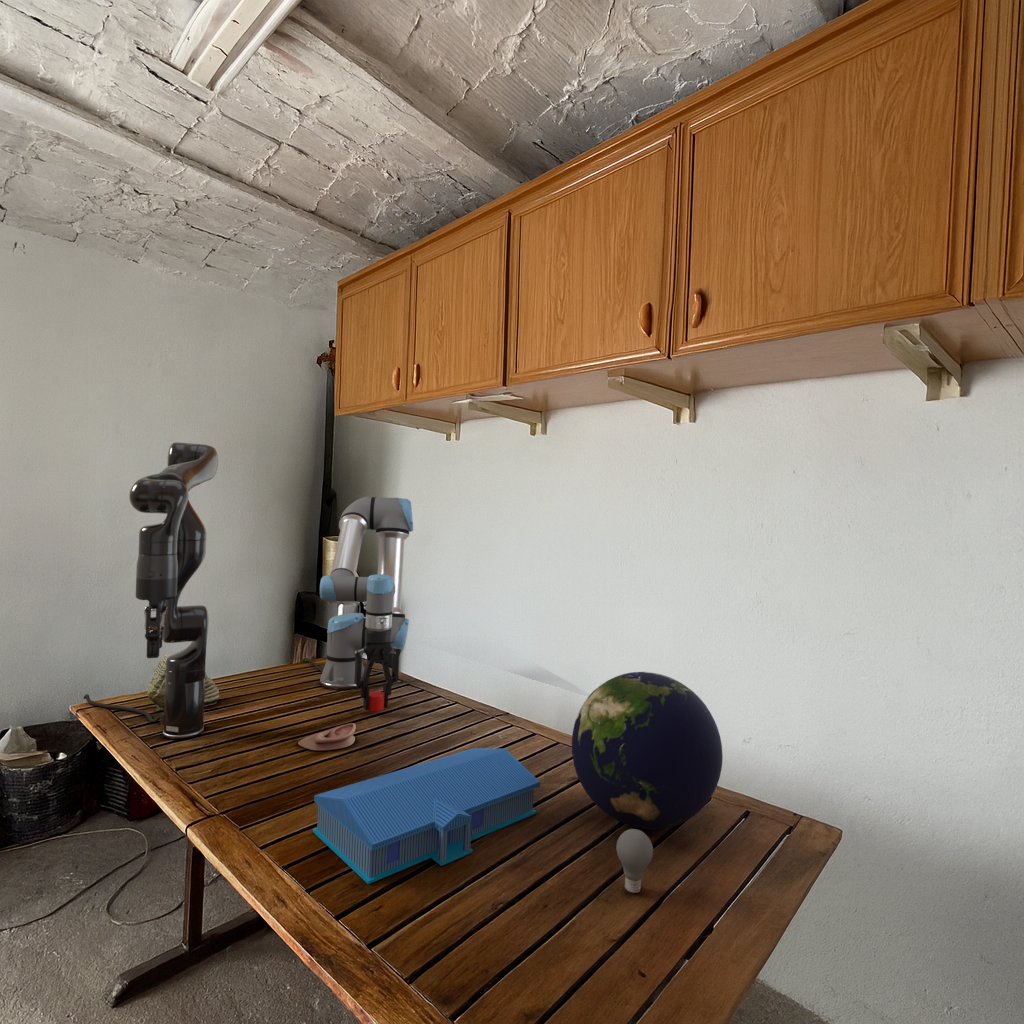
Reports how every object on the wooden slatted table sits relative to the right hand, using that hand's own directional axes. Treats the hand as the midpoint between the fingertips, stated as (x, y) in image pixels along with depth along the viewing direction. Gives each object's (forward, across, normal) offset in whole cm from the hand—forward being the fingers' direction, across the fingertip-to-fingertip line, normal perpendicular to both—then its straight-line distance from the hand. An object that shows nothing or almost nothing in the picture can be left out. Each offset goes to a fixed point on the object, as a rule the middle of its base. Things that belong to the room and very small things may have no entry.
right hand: (375, 707), depth 185 cm
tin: (0, 0, 0) cm, 0 cm away
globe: (+1, +32, -81) cm, 87 cm away
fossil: (+2, -49, +27) cm, 56 cm away
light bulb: (+1, +14, -98) cm, 99 cm away
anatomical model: (+2, -17, -16) cm, 24 cm away
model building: (+1, -8, -65) cm, 66 cm away
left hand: (-28, -56, -28) cm, 69 cm away
